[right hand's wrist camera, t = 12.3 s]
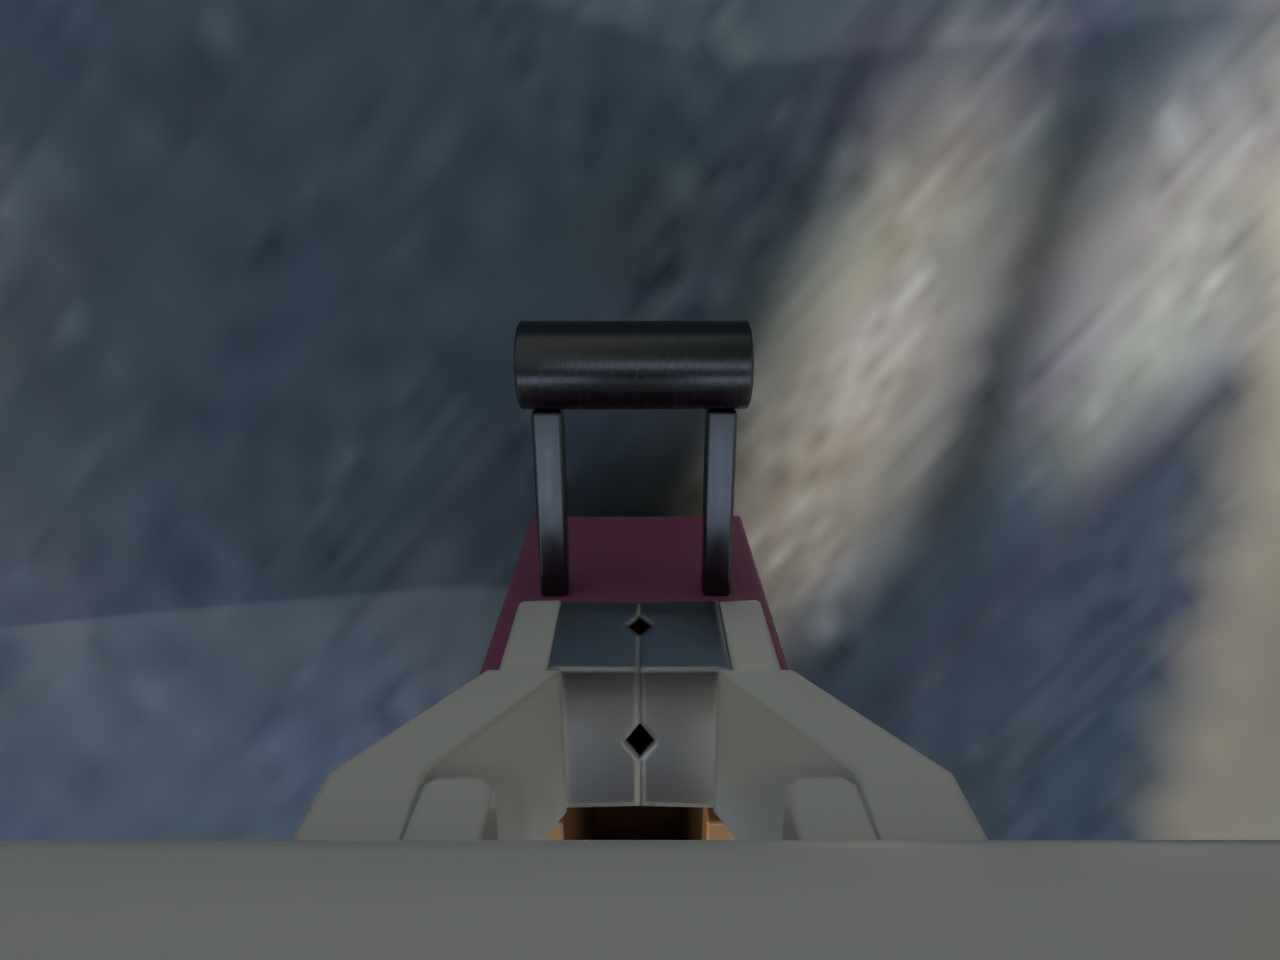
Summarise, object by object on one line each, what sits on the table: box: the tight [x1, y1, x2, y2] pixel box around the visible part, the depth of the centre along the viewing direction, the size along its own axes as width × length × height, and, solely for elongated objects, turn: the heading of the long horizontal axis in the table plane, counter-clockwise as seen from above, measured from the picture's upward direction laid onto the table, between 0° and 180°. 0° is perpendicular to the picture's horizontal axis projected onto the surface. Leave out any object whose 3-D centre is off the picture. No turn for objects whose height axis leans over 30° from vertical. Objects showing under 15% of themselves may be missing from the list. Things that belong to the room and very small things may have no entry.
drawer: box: [480, 321, 788, 840], centre depth 19 cm, size 21×6×9 cm, turn 0°
